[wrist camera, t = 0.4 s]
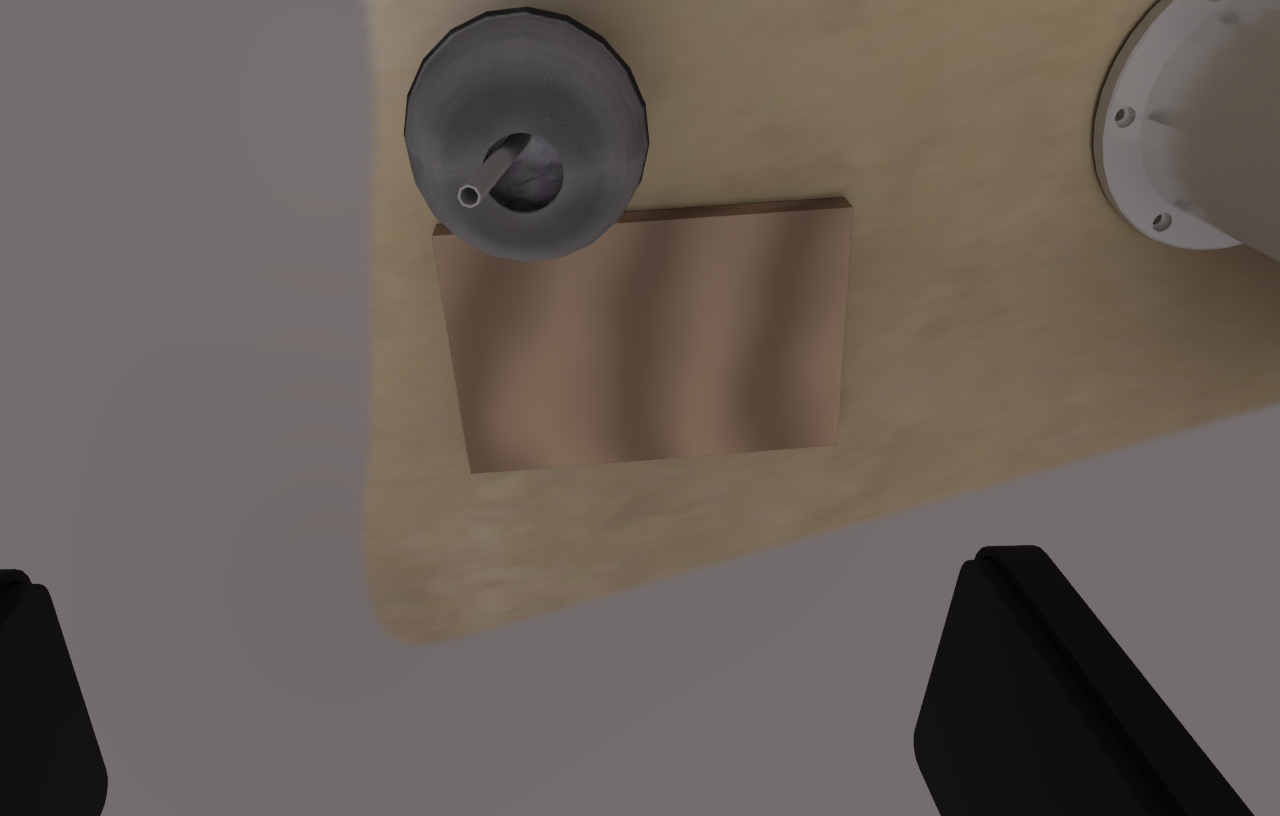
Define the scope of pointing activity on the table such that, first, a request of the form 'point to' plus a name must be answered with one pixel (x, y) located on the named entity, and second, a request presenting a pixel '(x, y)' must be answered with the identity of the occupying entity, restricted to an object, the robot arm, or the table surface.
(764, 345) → the serving board
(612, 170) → the beverage cup
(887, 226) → the table surface
